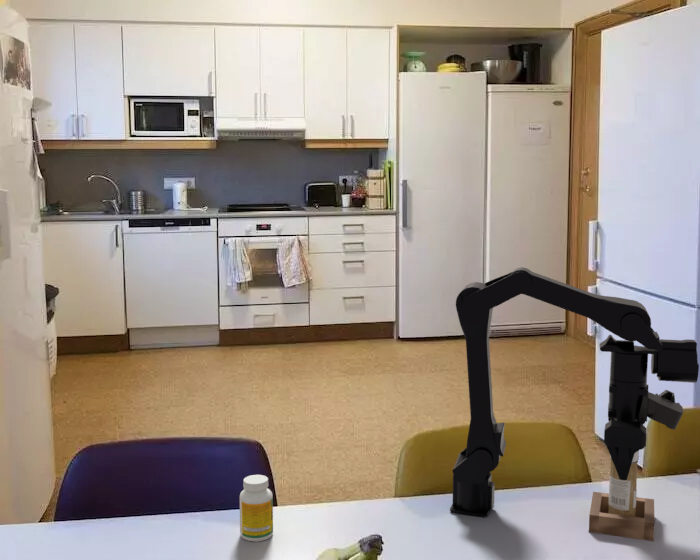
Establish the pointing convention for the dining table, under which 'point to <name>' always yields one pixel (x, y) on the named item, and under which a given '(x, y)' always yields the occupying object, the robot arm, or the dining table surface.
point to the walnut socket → (622, 519)
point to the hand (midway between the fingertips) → (623, 469)
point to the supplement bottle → (256, 509)
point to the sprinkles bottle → (623, 490)
